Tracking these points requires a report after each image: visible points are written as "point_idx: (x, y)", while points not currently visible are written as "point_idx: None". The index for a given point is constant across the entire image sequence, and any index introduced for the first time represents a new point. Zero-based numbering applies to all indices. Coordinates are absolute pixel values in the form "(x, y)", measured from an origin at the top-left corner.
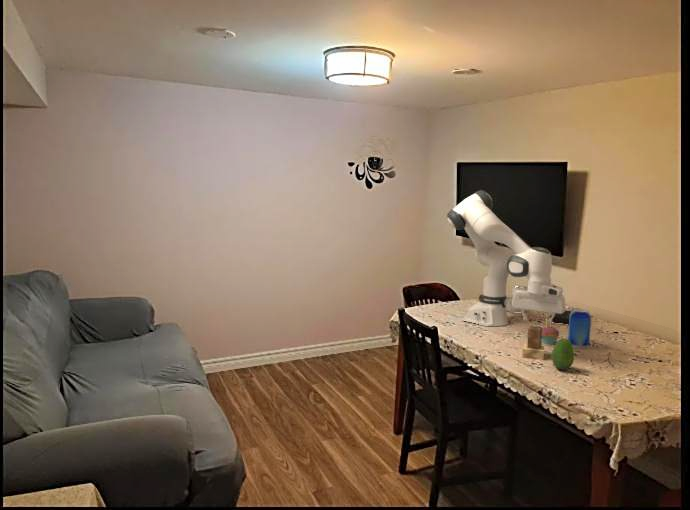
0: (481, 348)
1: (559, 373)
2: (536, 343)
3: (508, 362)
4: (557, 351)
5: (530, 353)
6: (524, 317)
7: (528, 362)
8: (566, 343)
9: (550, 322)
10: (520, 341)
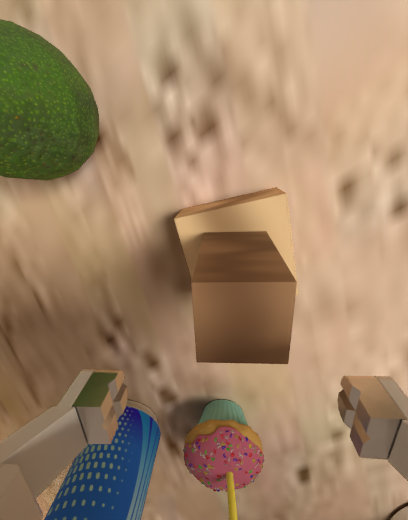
0: None
1: (52, 36)
2: (217, 241)
3: (333, 50)
4: None
5: (240, 200)
6: (394, 401)
7: (233, 126)
8: None
9: (85, 373)
10: (320, 388)
